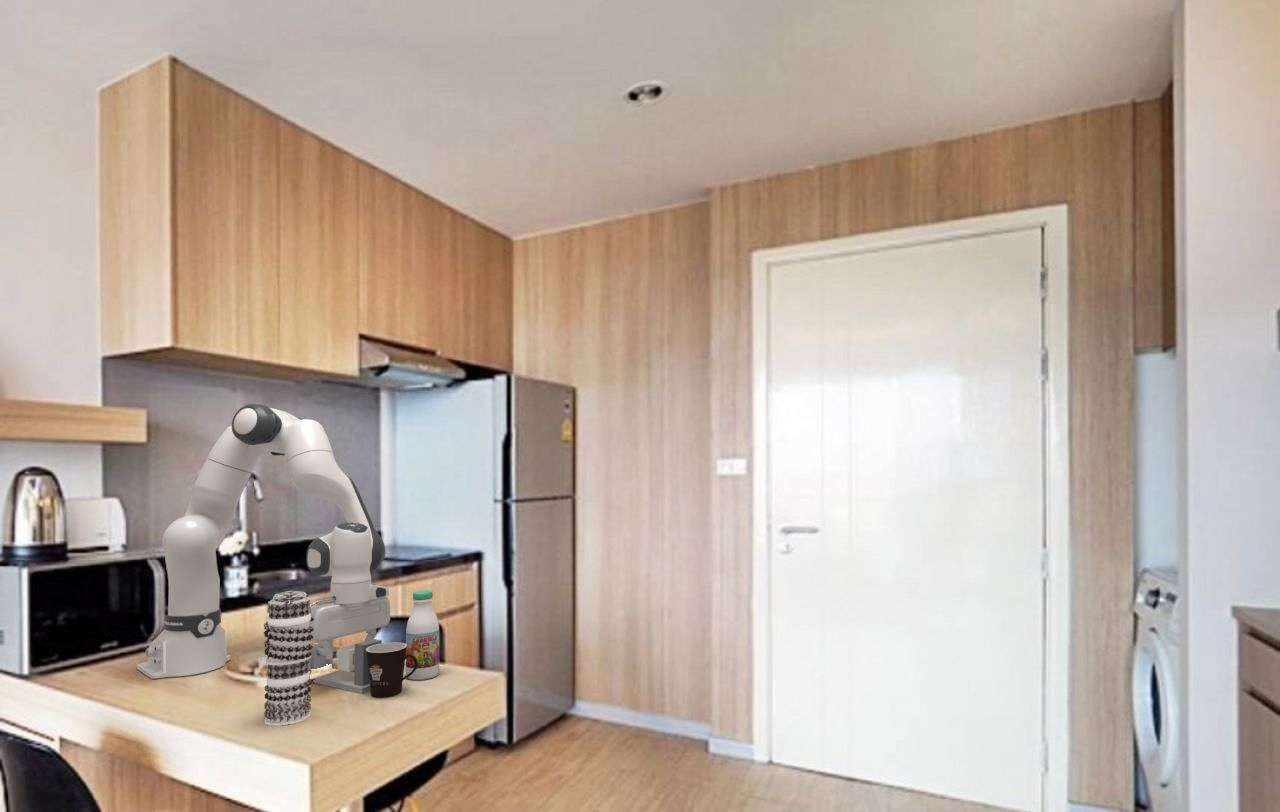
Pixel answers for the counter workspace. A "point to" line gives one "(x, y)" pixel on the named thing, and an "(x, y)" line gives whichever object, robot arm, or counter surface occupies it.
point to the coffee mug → (387, 668)
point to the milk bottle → (422, 637)
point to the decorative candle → (288, 659)
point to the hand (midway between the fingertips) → (349, 653)
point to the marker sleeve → (346, 658)
